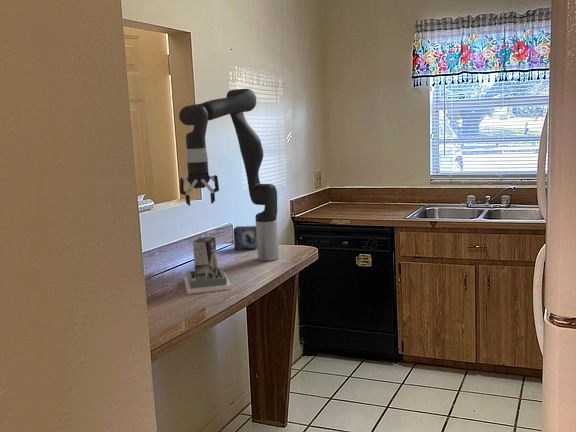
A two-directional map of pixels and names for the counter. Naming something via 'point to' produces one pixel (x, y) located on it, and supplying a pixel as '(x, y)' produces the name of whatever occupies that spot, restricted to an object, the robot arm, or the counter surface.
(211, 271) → the coffee box
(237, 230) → the small box
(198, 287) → the socket stand
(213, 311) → the counter surface
